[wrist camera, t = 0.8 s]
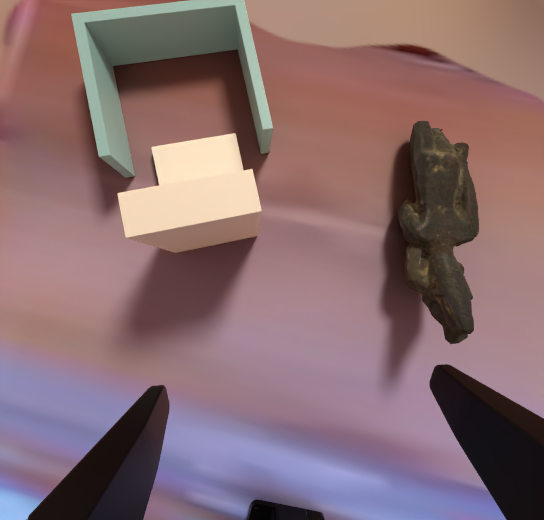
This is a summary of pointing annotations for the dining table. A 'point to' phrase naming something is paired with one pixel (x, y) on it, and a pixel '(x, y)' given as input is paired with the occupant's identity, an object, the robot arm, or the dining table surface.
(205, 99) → the dining table surface
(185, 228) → the bookend
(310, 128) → the dining table surface
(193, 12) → the box
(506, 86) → the dining table surface
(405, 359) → the dining table surface
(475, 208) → the statue
